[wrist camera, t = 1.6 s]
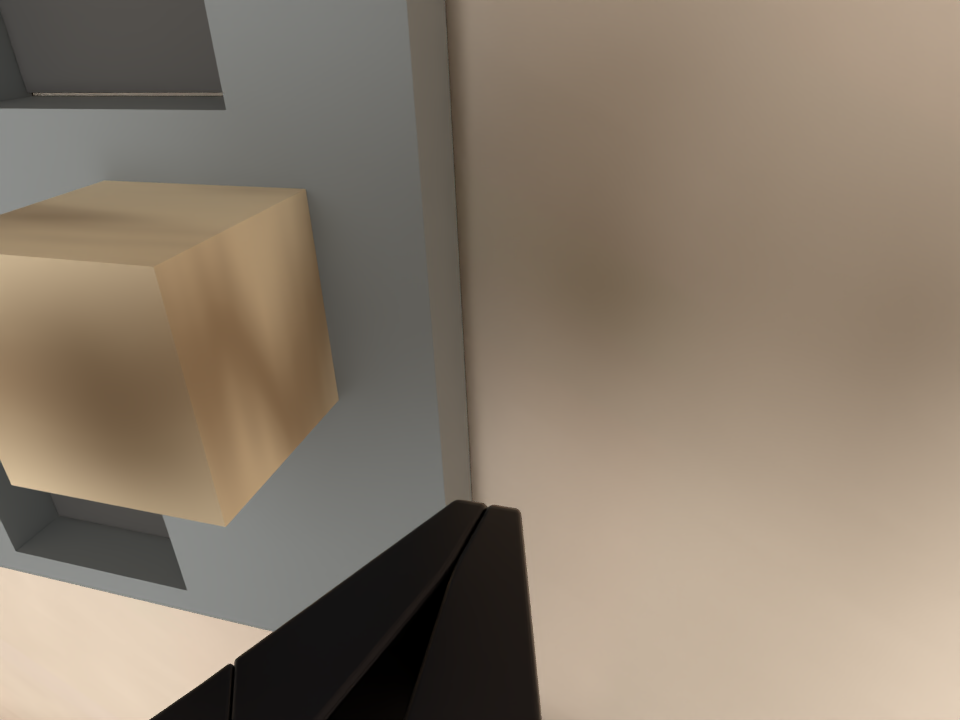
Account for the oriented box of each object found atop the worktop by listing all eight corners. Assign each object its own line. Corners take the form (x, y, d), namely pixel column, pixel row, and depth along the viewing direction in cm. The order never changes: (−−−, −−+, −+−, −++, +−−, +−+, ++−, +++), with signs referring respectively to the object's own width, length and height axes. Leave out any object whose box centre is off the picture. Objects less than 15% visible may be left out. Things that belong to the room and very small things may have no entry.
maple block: (338, 399, 16) (225, 527, 12) (162, 376, 18) (12, 484, 14) (305, 189, 14) (153, 266, 10) (104, 180, 15) (-97, 246, 11)
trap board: (423, -420, 11) (311, -573, 8) (478, 621, 22) (441, 723, 19) (-436, -237, 16) (-684, -284, 14) (-50, 508, 27) (-142, 571, 24)
